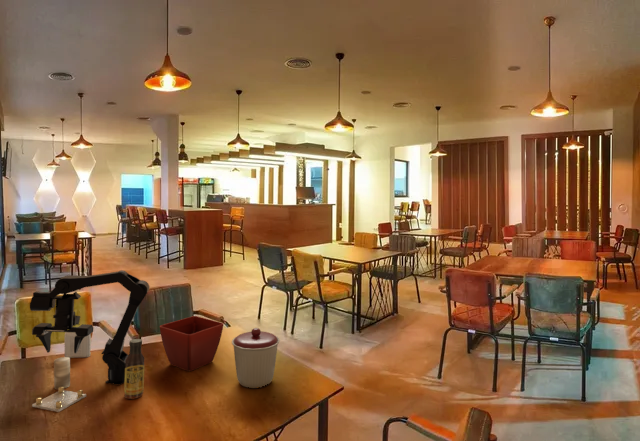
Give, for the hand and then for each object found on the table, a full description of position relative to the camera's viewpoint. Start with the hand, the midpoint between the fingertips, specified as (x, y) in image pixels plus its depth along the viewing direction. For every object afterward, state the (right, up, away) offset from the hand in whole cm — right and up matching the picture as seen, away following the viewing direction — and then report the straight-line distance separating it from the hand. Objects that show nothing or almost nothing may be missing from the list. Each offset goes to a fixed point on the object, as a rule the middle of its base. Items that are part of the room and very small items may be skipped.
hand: (62, 352), depth 149 cm
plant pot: (+40, -12, +24) cm, 48 cm away
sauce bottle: (+29, -14, -5) cm, 33 cm away
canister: (+70, -14, +7) cm, 72 cm away
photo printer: (-11, -11, +29) cm, 33 cm away
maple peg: (0, -13, +1) cm, 13 cm away
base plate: (+6, -13, -10) cm, 18 cm away
